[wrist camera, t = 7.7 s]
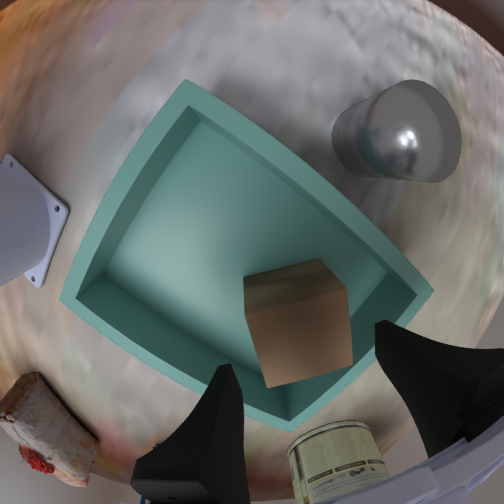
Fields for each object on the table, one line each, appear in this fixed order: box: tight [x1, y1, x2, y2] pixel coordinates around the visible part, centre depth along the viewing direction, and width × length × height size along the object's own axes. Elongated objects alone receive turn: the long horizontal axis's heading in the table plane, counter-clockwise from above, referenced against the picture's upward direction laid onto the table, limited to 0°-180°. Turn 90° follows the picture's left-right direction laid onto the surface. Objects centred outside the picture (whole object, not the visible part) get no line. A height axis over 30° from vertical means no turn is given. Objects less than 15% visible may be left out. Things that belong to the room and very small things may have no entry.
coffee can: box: [287, 421, 391, 504], centre depth 18 cm, size 10×10×14 cm
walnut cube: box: [243, 258, 353, 388], centre depth 16 cm, size 5×5×5 cm
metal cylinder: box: [332, 80, 461, 183], centre depth 13 cm, size 5×5×7 cm
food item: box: [0, 373, 100, 487], centre depth 18 cm, size 14×8×10 cm, turn 21°
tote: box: [59, 78, 434, 432], centre depth 16 cm, size 18×14×5 cm
